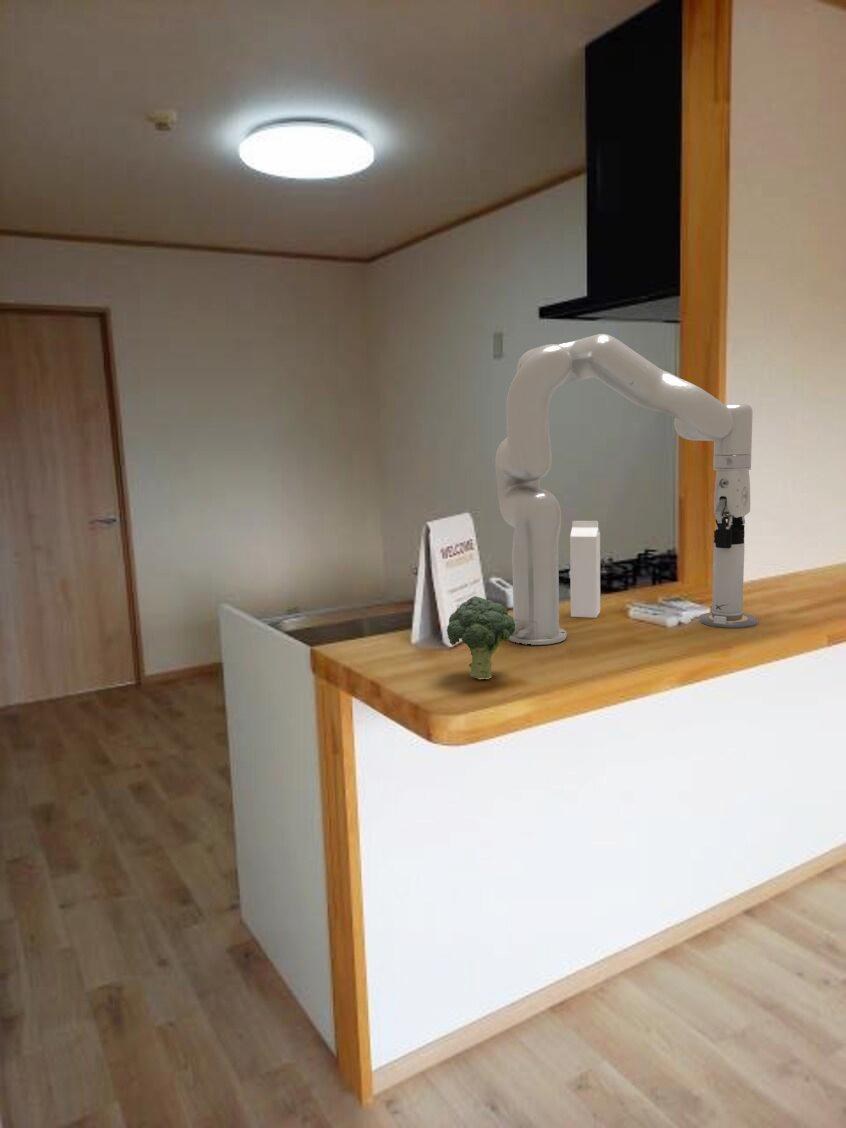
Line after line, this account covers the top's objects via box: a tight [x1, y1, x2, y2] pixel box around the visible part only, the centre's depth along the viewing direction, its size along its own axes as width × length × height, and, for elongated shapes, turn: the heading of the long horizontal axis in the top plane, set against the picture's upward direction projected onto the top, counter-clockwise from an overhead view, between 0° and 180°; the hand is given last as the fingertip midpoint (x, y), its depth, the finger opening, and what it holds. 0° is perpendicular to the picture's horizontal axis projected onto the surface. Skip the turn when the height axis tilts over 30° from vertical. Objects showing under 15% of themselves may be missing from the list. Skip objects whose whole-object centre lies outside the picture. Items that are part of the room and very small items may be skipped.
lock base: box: [699, 610, 759, 629], centre depth 184 cm, size 12×12×2 cm
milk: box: [569, 520, 601, 619], centre depth 194 cm, size 6×6×22 cm
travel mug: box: [711, 529, 745, 621], centre depth 182 cm, size 6×7×20 cm
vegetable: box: [446, 595, 516, 679], centre depth 150 cm, size 12×13×15 cm
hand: (729, 544), depth 182 cm, fingers open, 7 cm apart
